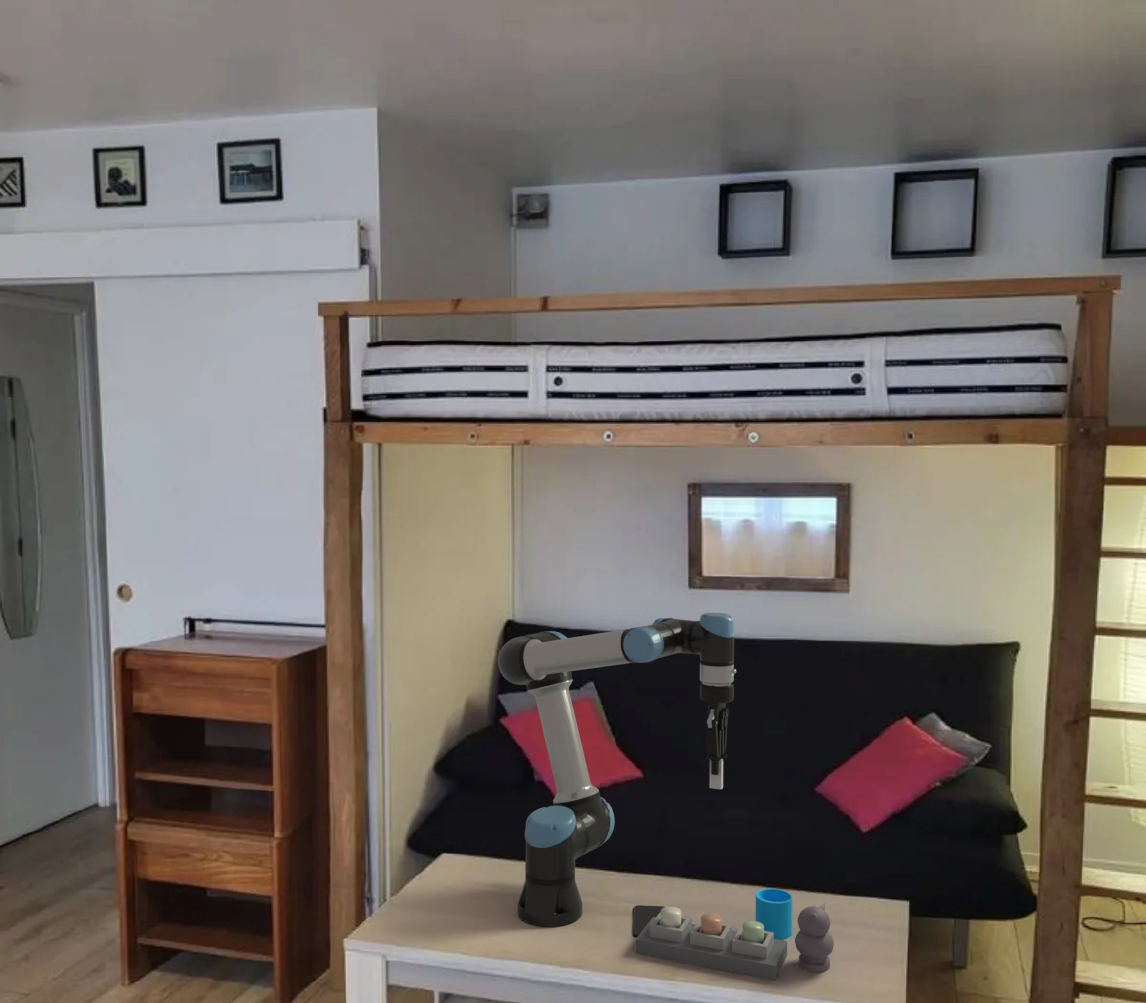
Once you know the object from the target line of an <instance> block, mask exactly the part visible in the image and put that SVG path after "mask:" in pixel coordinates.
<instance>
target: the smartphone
mask: <svg viewBox="0 0 1146 1003" xmlns="http://www.w3.org/2000/svg"><path fill="white" fill-rule="evenodd" d="M664 907H665V906H663V905H643V904H642V905H638V904H637V905H634V907H633V924H632V925H633V926H632V927H633V928H632V936H633V937H634V938H637V937H638V936H639V934H640V933H641V932H642V931H643V929H644V928H645V927H646V925H647V924H648V923H649V922H650V920H651V919H652V918H653V917H657V916H658V915H659V913H660V912H661V909H662V908H664Z"/></svg>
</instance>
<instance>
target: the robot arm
mask: <svg viewBox="0 0 1146 1003" xmlns="http://www.w3.org/2000/svg"><path fill="white" fill-rule="evenodd" d="M734 621H735V620H734V617H733V615H732V614H730V613H724V612H705V613H701V615H700V618H699V620H689V619H688V620H687V619H681V618H680V619H678V618H673V617H667V618H666V617H658V618H656V619H655V620H654V621H653V622H652V623H651V624H649V625H644V626H638V627H636V626H635V627H631V628H627V629H626V628H624V629H620V630H613V631H612V630H611V631H607V632H599V633H593V634H587V635H582V636H574V637H567V636H565V635H564V634H562V633H561V632H557V631H555V630H553V631H546V630H545V631H540V632H536V633H532V634H526V635H523V636H522V635H521V636H517V637H514V638H511V639H510V640H508V641H507V642H505V644H504V645H503V646H502V647H501V649H500V651H499V654H498V657H497V658H498V659H497V664H498V669H499V672H500V673H501V675H502V677H503V678H504V679H505V680H506V681H508V682H509V683H512V684H514V685H517V686H518V685H519V686H523V685H524V686H526V690H527V693H529V694H531V695H532V696H534V697H535V702H536V705H537V710H538V715H539V719H540V720H539V721H540V723H541V727H542V732H543V737H544V740H545V745H546V746H545V747H546V749H547V753H548V759H549V764H550V766H551V771H552V776H553V779H554V780H553V781H554V784H555V789H556V795H555V796H554V798H553V800H552V802H553V805H549V806H548V807H545V806H543V807H541V808H538V809H536V810H534V811H532V812H531V813H530V814H529V815H528V816H527V818H526V821H525V830H524V839H525V841H524V842H525V846H524V848H525V849H524V851H525V852H524V854H525V856H524V857H525V858H524V859H525V860H524V862H525V864H524V866H525V874H524V875H525V876H524V877H525V880H524V883H523V886H522V890H521V892H520V894H519V898H518V901H517V915H518V918H519V919H521V920H522V921H523V922H526V923H528V924H530V925H534V926H539V927H560V926H566V925H570V924H572V923H575V922H576V921H577V920H579V919H580V918H581V917H582V915H583V900H582V897H581V894H580V891H579V888H578V885H577V882H576V860H577V859H578V858H580V857H582V856H584V855H586V854H587V853H589V852H591V851H593V850H596V849H598V848H601V846H602V845H604V843H606V842H607V841H608V840H609V839H610V838H611V836H612V834H613V831H614V830H615V829H614V828H615V815H614V814H615V813H614V811H613V808H612V806H611V805H610V803H609V802H607V801H606V799H605V798H604V797H601V794H600V790H599V789H598V788H597V787H596V786H594V785H593V784H592V783H591V778H590V774H589V771H588V770H589V769H588V766H587V761H586V758H585V757H586V756H585V753H584V748H583V744H582V741H581V740H582V739H581V737H580V736H581V735H580V732H579V728H578V724H577V719H576V715H575V710H574V706H573V702H572V698H571V692H570V686H571V684H572V682H573V675H572V672H574V671H581V670H588V669H595V668H603V667H611V666H618V665H626V664H633V663H639V664H642V663H649V662H650V663H651V662H653V661H655V660H657V659H660V658H664V657H669V656H671V655H676V654H690V655H691V654H692V655H699V659H700V660H699V681H700V682H701V683H700V685H699V698H700V700H701V701H703V702H704V703H705V702H706V703H707V704H708V705H707V709H706V710H705V717H706V718H704V719H703V724H704V729H705V731H704V732H705V744H706V745H705V746H706V747H705V748H706V756H705V759H706V760H709V789H715V790H723V788H724V759H727V758H728V754H725V753H726V752H727V749H726V748H727V734H728V718H729V714H730V709H729V708H726V707H727V704H728V703H731V702H733V701H734V699H735V697H734V696H735V685H734V684H733V682H734V681H735V679H734V678H735V677H734V676H735V674H736V673H737V669H736V668H734V667H735V665H734V664H735V661H734V660H735V636H736V634H735V623H734Z"/></svg>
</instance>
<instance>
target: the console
mask: <svg viewBox="0 0 1146 1003" xmlns="http://www.w3.org/2000/svg"><path fill="white" fill-rule="evenodd" d="M692 919H693V918H692V917H690V916H688V917H687V916H683V915H681V927H680V928H679V929H678V928H673V927H667V926H662V925H661V912H660V913H659V915H658V916H657V917H653V918H652V919H651V920H650V922H649V923H648V924H647V925H646V927H645V928H644V929H643V931H642V932H641V933H640V934H639V936H638V937H635V954H637V955H644V956H647V957H654V958H659V959H664V960H668V961H674V962H679V963H683V964H689V965H695V966H700V967H703V968H705V967H706V968H710V969H713V970H714V969H715V970H719V971H725V972H730V973H735V974H740V975H744V976H749V977H756V978H760V979H766V980H769V981H770V980H771V981H776V980H777V979H778V977H779V974H780V972H781V970H782V968H783V966H784V963H785V961H786V959H787V956H788V940H785V939H783V940H778V939H774V933H773V932H768V931H764V943H763V944H760V943H754V942H749V941H743V926H739V928H738V930H737V931H733V925H732V924H728V923H723V922H722V934H721V936H716V935H711V934H705V933H701V918H700V919H699V920H698V921H697V923H696V924H695V923H692V921H693V920H692Z"/></svg>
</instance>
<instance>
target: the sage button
mask: <svg viewBox="0 0 1146 1003" xmlns="http://www.w3.org/2000/svg"><path fill="white" fill-rule="evenodd" d="M742 927H743V941H749V942H754V943H760V944H763V943H764V925H763V924H762V923H760V922H756V920H749V921H748V920H747V921H744V922H743V923H742Z"/></svg>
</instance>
